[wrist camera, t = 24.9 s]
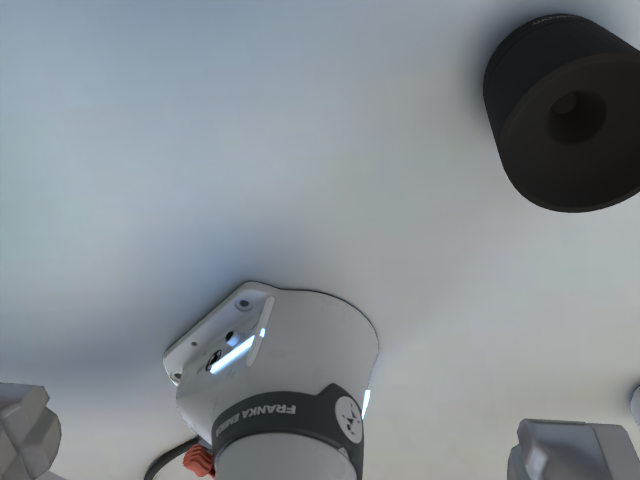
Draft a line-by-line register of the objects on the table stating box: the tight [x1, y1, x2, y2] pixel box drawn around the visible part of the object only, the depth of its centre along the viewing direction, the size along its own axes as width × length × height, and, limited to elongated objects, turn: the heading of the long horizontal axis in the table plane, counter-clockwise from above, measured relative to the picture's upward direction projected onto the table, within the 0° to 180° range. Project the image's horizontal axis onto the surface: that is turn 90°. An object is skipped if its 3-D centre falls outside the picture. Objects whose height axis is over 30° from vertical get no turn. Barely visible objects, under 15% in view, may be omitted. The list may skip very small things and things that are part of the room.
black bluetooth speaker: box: [483, 14, 640, 213], centre depth 34 cm, size 9×9×10 cm
